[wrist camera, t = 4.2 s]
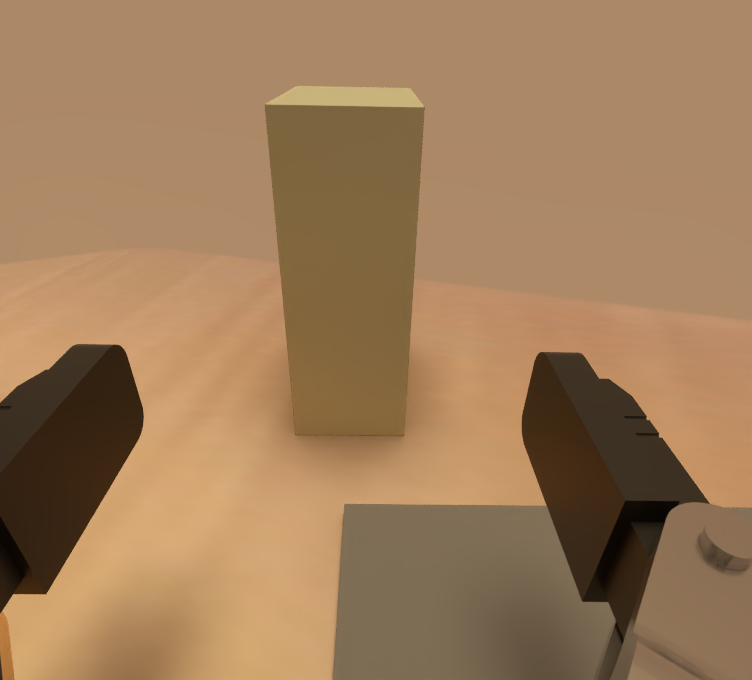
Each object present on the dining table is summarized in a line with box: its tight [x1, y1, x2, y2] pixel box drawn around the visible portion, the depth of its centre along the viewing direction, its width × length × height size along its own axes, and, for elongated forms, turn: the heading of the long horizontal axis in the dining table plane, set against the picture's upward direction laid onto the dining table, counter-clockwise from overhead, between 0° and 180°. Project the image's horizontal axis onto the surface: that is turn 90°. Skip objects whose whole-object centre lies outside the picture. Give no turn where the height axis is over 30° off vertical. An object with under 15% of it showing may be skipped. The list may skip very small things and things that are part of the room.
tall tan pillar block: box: [265, 86, 425, 436], centre depth 18 cm, size 4×6×11 cm, turn 0°
